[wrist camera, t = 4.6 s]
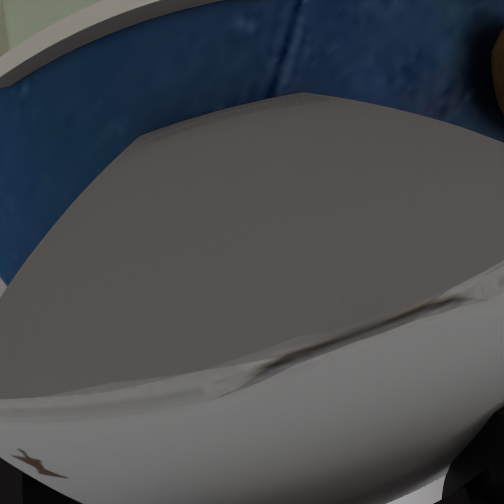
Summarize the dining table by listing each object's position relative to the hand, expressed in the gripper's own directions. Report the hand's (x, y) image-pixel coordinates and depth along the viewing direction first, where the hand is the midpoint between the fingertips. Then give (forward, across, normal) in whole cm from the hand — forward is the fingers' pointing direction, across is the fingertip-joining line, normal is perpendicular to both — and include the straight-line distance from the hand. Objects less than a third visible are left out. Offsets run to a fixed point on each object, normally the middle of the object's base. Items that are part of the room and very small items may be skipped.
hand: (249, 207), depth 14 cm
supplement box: (+3, 0, 0) cm, 3 cm away
